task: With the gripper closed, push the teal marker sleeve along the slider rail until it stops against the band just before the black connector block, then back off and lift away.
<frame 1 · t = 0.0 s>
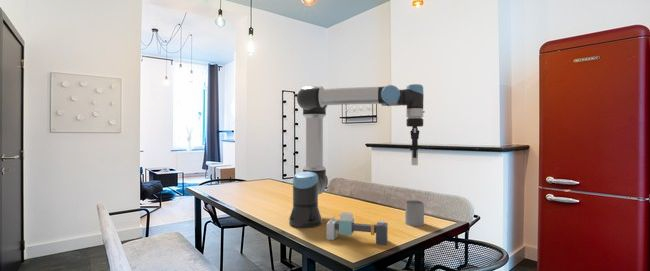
hand: (414, 163, 149), 28 cm above the table, fingers open, 13 cm apart
sleeve: (346, 223, 128), point 6 cm above the table, slide at 0.0 cm
cup: (414, 224, 149), on the table
slider rail: (356, 239, 127), on the table
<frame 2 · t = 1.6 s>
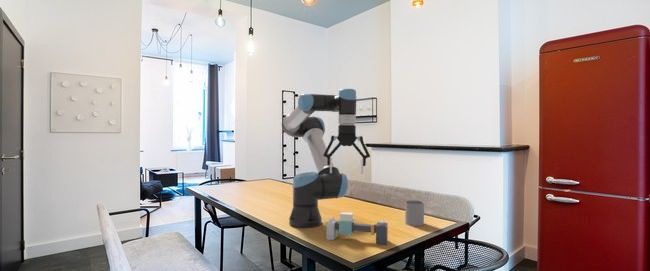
hand: (346, 173, 140), 25 cm above the table, fingers open, 13 cm apart
nothing on the table moved.
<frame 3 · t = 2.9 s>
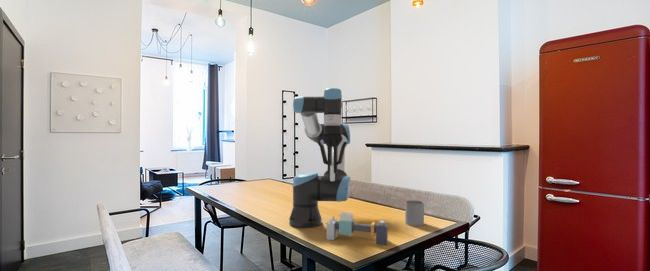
hand: (332, 180, 136), 22 cm above the table, fingers closed
nothing on the table moved.
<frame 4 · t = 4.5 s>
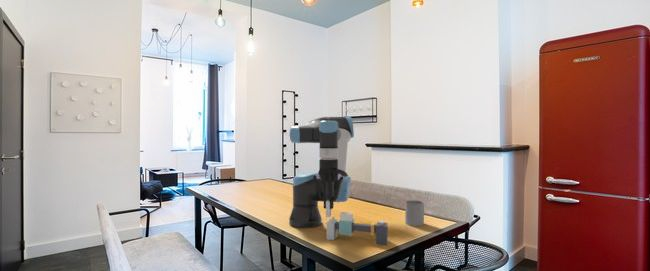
hand: (328, 216, 130), 8 cm above the table, fingers closed
nothing on the table moved.
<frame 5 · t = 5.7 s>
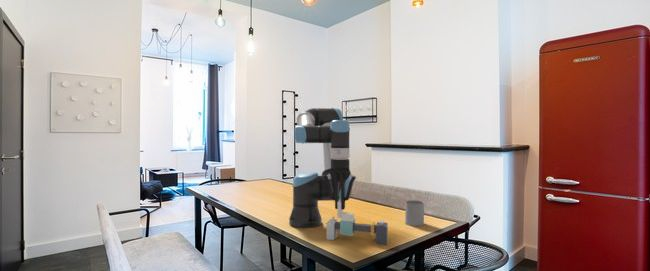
hand: (340, 217, 128), 9 cm above the table, fingers closed
sleeve: (347, 223, 128), point 6 cm above the table, slide at 0.5 cm, touching gripper
everything else where it was.
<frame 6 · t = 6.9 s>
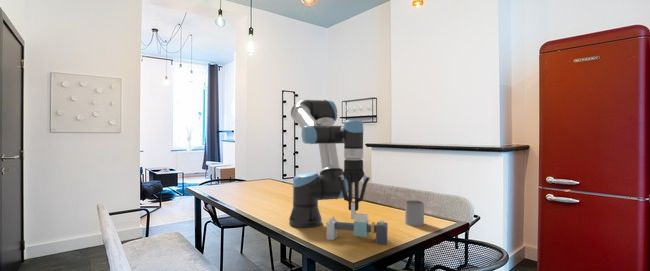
hand: (353, 218, 127), 8 cm above the table, fingers closed
sleeve: (361, 224, 126), point 6 cm above the table, slide at 5.9 cm, touching gripper
everything else where it was.
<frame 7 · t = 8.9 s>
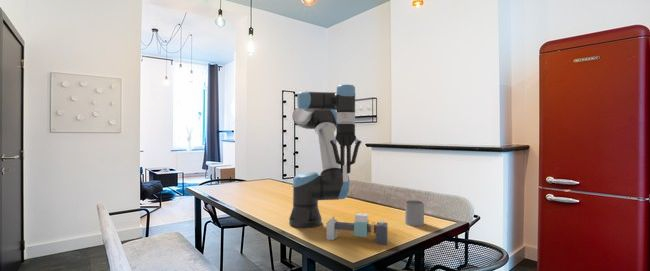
hand: (345, 181, 130), 23 cm above the table, fingers closed
sleeve: (361, 224, 126), point 6 cm above the table, slide at 6.0 cm
everything else where it was.
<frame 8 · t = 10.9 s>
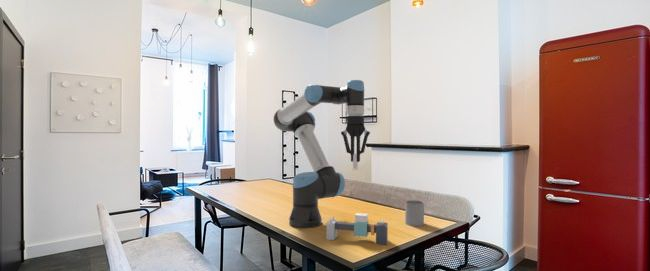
hand: (355, 169, 141), 26 cm above the table, fingers closed
nothing on the table moved.
at the end: sleeve slide at 6.0 cm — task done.
